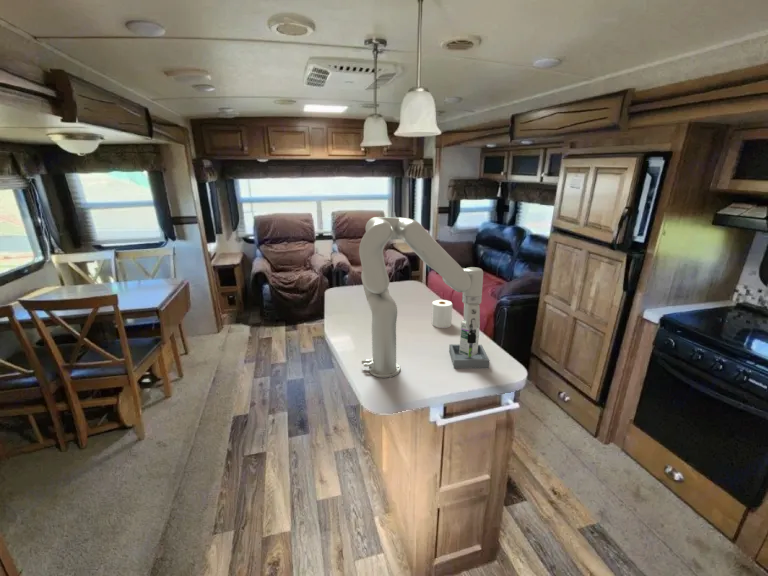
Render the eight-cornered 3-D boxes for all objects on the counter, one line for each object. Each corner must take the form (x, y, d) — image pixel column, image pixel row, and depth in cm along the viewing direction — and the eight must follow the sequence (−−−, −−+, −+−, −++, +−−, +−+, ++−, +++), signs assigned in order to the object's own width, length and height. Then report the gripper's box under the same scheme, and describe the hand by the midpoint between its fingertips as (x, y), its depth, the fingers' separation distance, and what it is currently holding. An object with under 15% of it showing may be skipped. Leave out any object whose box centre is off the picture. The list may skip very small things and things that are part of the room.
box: (453, 368, 141) (454, 360, 140) (449, 351, 155) (449, 344, 154) (488, 368, 141) (489, 360, 140) (481, 352, 154) (481, 344, 153)
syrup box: (458, 353, 147) (460, 321, 142) (466, 348, 151) (468, 317, 146) (470, 358, 143) (472, 325, 139) (478, 353, 147) (480, 321, 142)
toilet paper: (441, 319, 191) (441, 298, 188) (455, 324, 183) (456, 303, 180) (427, 323, 185) (428, 302, 182) (441, 329, 177) (442, 307, 174)
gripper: (486, 305, 131) (483, 348, 136) (476, 291, 148) (474, 329, 153) (466, 305, 131) (463, 347, 137) (458, 291, 148) (457, 329, 153)
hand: (469, 338), depth 145 cm, fingers closed on syrup box, 8 cm apart
